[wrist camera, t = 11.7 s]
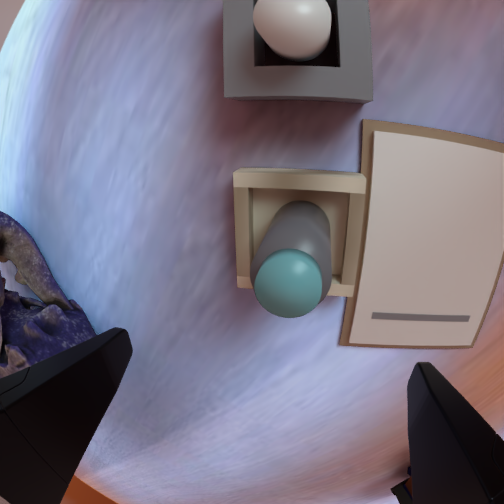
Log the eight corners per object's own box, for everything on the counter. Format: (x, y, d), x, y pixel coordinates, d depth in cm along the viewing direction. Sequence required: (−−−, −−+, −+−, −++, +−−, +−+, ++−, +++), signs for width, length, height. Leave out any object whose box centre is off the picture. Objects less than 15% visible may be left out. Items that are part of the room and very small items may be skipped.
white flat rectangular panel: (522, 148, 13) (527, 150, 13) (471, 345, 19) (474, 351, 19) (362, 119, 15) (364, 119, 15) (339, 343, 22) (339, 349, 21)
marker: (334, 204, 17) (339, 256, 11) (325, 259, 19) (323, 331, 12) (274, 196, 18) (246, 242, 12) (269, 251, 19) (242, 318, 13)
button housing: (359, -7, 12) (364, -27, 10) (364, 103, 15) (372, 100, 12) (237, -6, 14) (222, -24, 11) (239, 100, 16) (224, 97, 14)
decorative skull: (-81, 220, 14) (-43, 398, 19) (56, 292, 14) (82, 481, 19) (7, 198, 26) (14, 349, 31) (142, 238, 26) (126, 403, 31)
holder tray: (362, 173, 17) (366, 179, 15) (350, 282, 20) (352, 297, 18) (241, 167, 18) (233, 172, 17) (244, 273, 21) (237, 287, 19)
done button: (328, 7, 12) (329, -16, 9) (331, 62, 13) (333, 49, 10) (264, 7, 12) (252, -14, 10) (266, 62, 14) (253, 49, 11)
